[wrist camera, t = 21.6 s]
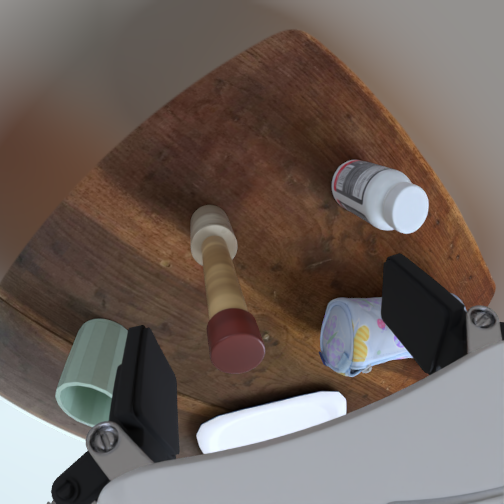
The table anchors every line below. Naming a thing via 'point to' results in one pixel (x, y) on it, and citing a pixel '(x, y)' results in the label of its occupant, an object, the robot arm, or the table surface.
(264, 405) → the plate
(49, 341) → the table surface
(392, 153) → the table surface
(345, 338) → the pencil case
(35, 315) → the table surface
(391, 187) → the pill bottle
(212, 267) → the wooden rod
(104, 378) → the cup
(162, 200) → the table surface
